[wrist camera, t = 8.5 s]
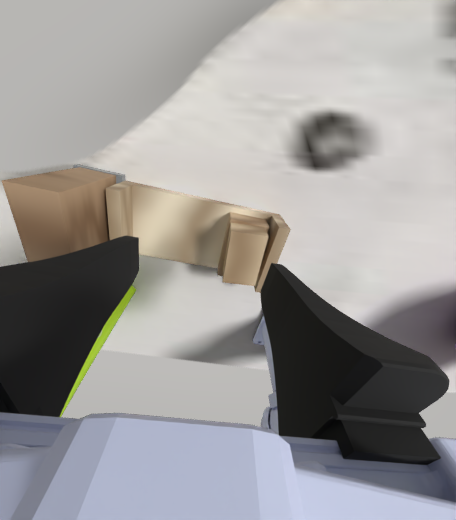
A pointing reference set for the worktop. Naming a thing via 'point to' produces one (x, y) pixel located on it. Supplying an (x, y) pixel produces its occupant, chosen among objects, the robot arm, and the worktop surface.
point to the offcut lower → (232, 219)
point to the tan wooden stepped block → (184, 225)
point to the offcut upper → (244, 253)
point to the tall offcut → (60, 211)
